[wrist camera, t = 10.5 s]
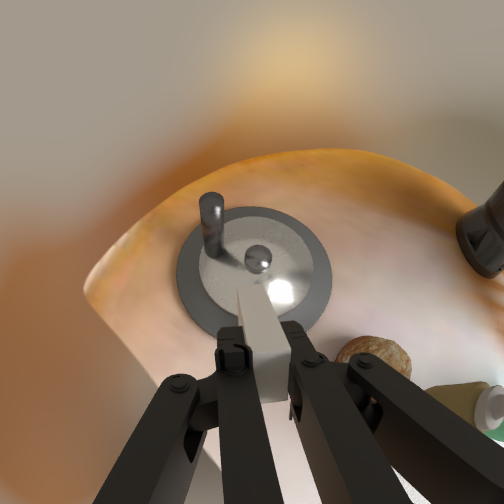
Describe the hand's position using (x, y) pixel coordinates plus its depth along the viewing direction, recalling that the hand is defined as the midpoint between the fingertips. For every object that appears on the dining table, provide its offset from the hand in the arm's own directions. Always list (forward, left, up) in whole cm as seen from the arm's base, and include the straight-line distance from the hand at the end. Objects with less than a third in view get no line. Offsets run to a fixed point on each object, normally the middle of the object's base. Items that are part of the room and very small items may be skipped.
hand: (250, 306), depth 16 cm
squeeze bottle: (-5, +25, -17) cm, 31 cm away
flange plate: (-9, -4, -15) cm, 18 cm away
